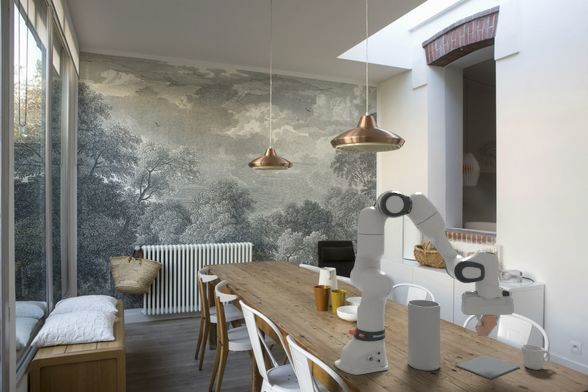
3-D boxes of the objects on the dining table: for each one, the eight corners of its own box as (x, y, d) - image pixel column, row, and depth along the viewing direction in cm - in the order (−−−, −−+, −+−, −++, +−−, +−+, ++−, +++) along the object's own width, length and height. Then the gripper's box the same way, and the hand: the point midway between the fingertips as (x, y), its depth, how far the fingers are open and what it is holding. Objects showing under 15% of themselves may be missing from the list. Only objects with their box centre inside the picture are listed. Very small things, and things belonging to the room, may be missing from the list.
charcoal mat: (490, 379, 158) (490, 377, 158) (455, 366, 171) (455, 364, 171) (519, 367, 169) (519, 366, 169) (484, 356, 182) (484, 354, 182)
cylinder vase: (415, 357, 180) (415, 298, 181) (444, 364, 173) (444, 302, 173) (402, 366, 171) (402, 303, 171) (433, 374, 163) (433, 308, 163)
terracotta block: (478, 336, 173) (487, 323, 166) (475, 327, 176) (483, 314, 169) (487, 335, 174) (497, 323, 167) (484, 326, 176) (493, 314, 169)
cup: (543, 363, 174) (543, 344, 174) (556, 371, 166) (556, 350, 166) (517, 363, 173) (517, 344, 174) (529, 371, 165) (529, 351, 166)
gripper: (465, 293, 167) (465, 328, 167) (516, 292, 168) (516, 327, 168) (458, 289, 173) (458, 323, 173) (507, 289, 174) (507, 322, 174)
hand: (487, 325), depth 170 cm, fingers closed on terracotta block, 4 cm apart
